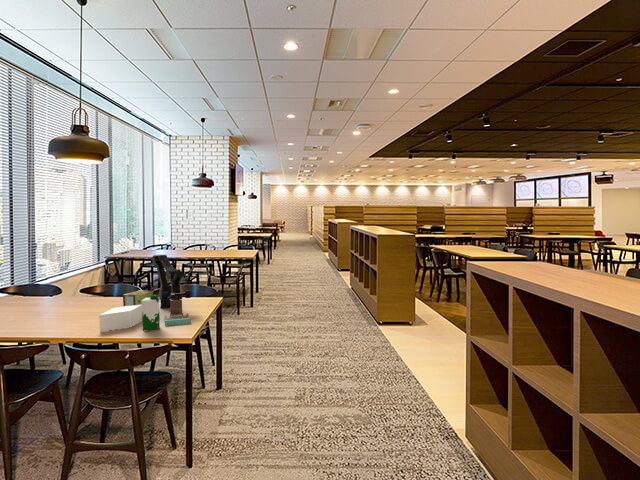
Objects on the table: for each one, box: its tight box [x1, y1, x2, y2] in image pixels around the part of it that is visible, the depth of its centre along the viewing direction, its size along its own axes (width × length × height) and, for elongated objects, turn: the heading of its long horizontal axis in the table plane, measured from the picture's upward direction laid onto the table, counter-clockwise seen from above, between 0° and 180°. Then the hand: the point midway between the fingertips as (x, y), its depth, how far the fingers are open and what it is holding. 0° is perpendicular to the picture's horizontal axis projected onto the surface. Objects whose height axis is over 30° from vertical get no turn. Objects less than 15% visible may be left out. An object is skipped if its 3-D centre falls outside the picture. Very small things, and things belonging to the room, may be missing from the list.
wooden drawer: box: [168, 299, 184, 320], centre depth 250 cm, size 14×8×11 cm, turn 19°
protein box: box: [122, 289, 154, 307], centre depth 258 cm, size 10×15×16 cm
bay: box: [164, 313, 191, 327], centre depth 246 cm, size 15×14×3 cm
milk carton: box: [141, 294, 161, 332], centre depth 230 cm, size 9×9×20 cm
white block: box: [98, 304, 142, 333], centre depth 237 cm, size 14×29×10 cm, turn 153°
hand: (177, 305), depth 257 cm, fingers closed
